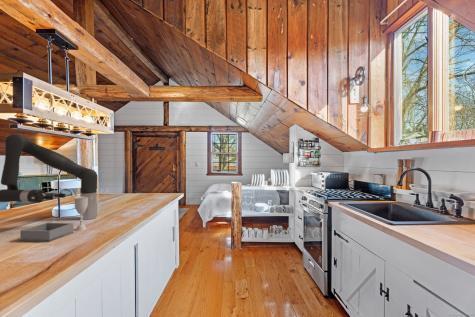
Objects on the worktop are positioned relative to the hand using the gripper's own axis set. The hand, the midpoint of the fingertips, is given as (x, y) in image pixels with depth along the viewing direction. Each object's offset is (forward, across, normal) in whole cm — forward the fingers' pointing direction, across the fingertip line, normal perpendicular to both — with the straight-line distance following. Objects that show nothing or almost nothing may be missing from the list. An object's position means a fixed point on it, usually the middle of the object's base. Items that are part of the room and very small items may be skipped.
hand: (59, 196), depth 137 cm
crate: (+7, -14, +18) cm, 24 cm away
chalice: (+14, 0, +18) cm, 23 cm away
